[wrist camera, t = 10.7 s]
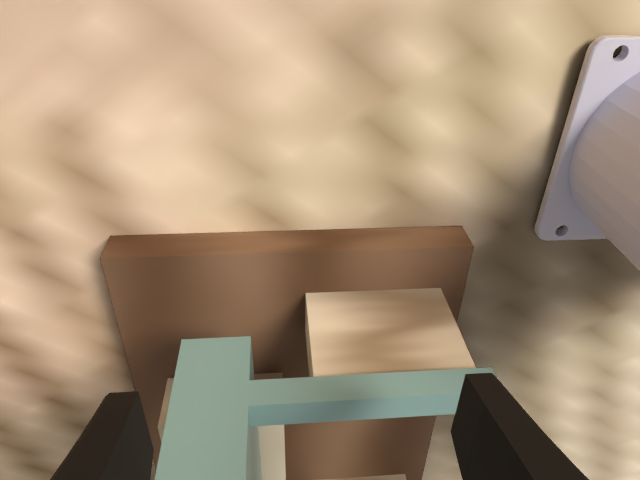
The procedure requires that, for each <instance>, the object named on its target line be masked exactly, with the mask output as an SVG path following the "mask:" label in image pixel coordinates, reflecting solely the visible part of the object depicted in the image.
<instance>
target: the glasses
mask: <svg viewBox="0 0 640 480" xmlns="http://www.w3.org/2000/svg"><path fill="white" fill-rule="evenodd" d="M476 373H493V374H494V375H495V373H494V371H493V369H492V367H484V368H465V369H447V370H429V371H411V372H392V373H374V374H356V375H337V376H319V377H301V378H283V379H264V380H254V368H253V356H252V343H251V336H243V337H222V338H201V339H182V340H181V345H180V350H179V355H178V361H177V366H176V371H175V376H174V381H173V387H172V392H171V397H170V402H169V407H168V412H167V418H166V423H165V428H164V433H163V438H162V444H161V449H160V454H159V459H158V464H157V470H156V475H155V480H262V468H261V456H260V443H259V431H258V426H270V425H286V424H302V423H318V422H335V421H351V420H367V419H383V418H399V417H415V416H432V415H448V414H455V413H456V409H457V405H458V401H459V397H460V393H461V390H462V386H463V382H464V378H465V374H476ZM495 376H496V375H495ZM496 378H497V377H496Z"/></svg>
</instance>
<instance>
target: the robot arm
mask: <svg viewBox="0 0 640 480" xmlns="http://www.w3.org/2000/svg"><path fill="white" fill-rule="evenodd" d="M619 46H622V51H621V52H620V54H619V55H618V56H617V57H616V58H613V53H614V51H615V49H616V48H618V47H619ZM563 225H564V226H563ZM560 226H563V227H562V229H560V230H558V231H556V230H557V228H558V227H560ZM534 231H535V233H536V235H537V236H538V237H539V238H540V239H541V240H544V241H557V240H589V239H608V240H609V241H610V242H611V243H612V244H613V245H614V246H615V247H616V248H617V249H618V250H619V251H620V252H621V253H622V254H623V255H624V256H625V257H626V258H627V259H628V260H629V261H630V262H631V263H632V264H633V265H634V266H635V267H636V268H637V269H638V270H639V271H640V35H604V36H600V37H598V38H596V39H595V40H594V41H593V42H592V43H591V44H590V45H589V47H588V49H587V51H586V55H585V58H584V62H583V65H582V68H581V72H580V75H579V78H578V82H577V85H576V89H575V92H574V95H573V99H572V102H571V106H570V109H569V112H568V116H567V119H566V122H565V126H564V129H563V133H562V136H561V139H560V143H559V146H558V150H557V153H556V156H555V160H554V163H553V166H552V170H551V173H550V177H549V180H548V183H547V187H546V190H545V194H544V197H543V200H542V204H541V207H540V210H539V214H538V217H537V221H536V224H535V229H534ZM451 434H452V438H453V443H454V447H455V451H456V455H457V459H458V463H459V467H460V471H461V475H462V478H463V480H589V479H588V478H587V477H586V476H585V475H584V474H583V473H582V472H581V471H580V470H579V469H578V468H577V467H576V466H575V465H574V464H573V463H572V462H571V461H570V460H569V459H568V458H567V456H566V455H565V454H564V453H563V452H562V451H561V450H560V449H559V448H558V447H557V446H556V445H555V444H554V443H553V442H552V440H551V439H550V438H549V437H548V436H547V435H546V434H545V433H544V432H543V431H542V429H541V428H540V427H539V426H538V425H537V424H536V423H535V422H534V420H533V419H532V418H531V417H530V416H529V415H528V414H527V412H526V411H525V410H524V409H523V408H522V407H521V406H520V404H519V403H518V402H517V401H516V400H515V399H514V397H513V396H512V395H511V394H510V393H509V392H508V390H507V389H506V388H505V387H504V386H503V385H502V383H501V382H500V381H499V380H498V379H497V378H496V376H495V375H494V374H493V373H476V374H465V378H464V382H463V386H462V390H461V393H460V397H459V401H458V405H457V409H456V413H455V417H454V421H453V425H452V429H451ZM153 452H154V449H153V445H152V441H151V437H150V434H149V430H148V426H147V422H146V418H145V414H144V410H143V407H142V403H141V399H140V395H139V391H137V392H119V393H109V394H108V395H107V396H106V397H105V398H104V399H103V401H102V403H101V404H100V406H99V408H98V409H97V411H96V412H95V414H94V416H93V417H92V419H91V420H90V422H89V423H88V425H87V426H86V428H85V430H84V431H83V433H82V434H81V436H80V437H79V439H78V440H77V442H76V443H75V445H74V446H73V448H72V449H71V451H70V452H69V454H68V455H67V457H66V458H65V459H64V461H63V462H62V464H61V465H60V466H59V468H58V469H57V471H56V472H55V473H54V475H53V476H52V478H51V479H50V480H150V476H151V468H152V460H153Z"/></svg>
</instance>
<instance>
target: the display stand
mask: <svg viewBox="0 0 640 480" xmlns="http://www.w3.org/2000/svg"><path fill="white" fill-rule="evenodd" d="M473 247H474V246H473V244H472V243H471V241H470V239H469V238H468V236H467V234H466V232H465V231H464V229H463V227H462V226H438V227H403V228H369V229H334V230H299V231H264V232H229V233H194V234H159V235H124V236H110V238H109V240H108V243H107V245H106V247H105V249H104V251H103V253H102V256H101V258H100V259H101V263H102V267H103V271H104V274H105V278H106V282H107V286H108V290H109V293H110V297H111V301H112V305H113V308H114V312H115V316H116V320H117V324H118V327H119V331H120V335H121V339H122V342H123V346H124V350H125V354H126V357H127V361H128V365H129V369H130V373H131V376H132V380H133V384H134V388H135V391H136V392H137V391H139V395H140V399H141V403H142V407H143V410H144V414H145V418H146V422H147V426H148V430H149V434H150V437H151V441H152V445H153V449H154V452H153V459H154V463H155V467H156V470H157V464H158V459H159V454H160V449H161V444H162V438H163V433H164V428H165V423H166V418H167V412H168V407H169V402H170V397H171V392H172V387H173V381H174V376H175V371H176V366H177V361H178V355H179V350H180V345H181V340H182V339H201V338H222V337H243V336H251V343H252V356H253V368H254V380H264V379H283V378H301V377H319V376H337V375H356V374H374V373H392V372H411V371H429V370H447V369H465V368H476V367H475V365H474V362H473V360H472V358H471V356H470V353H469V351H468V349H467V347H466V344H465V342H464V340H463V337H462V335H461V333H460V331H459V328H458V326H457V324H456V323H457V319H458V314H459V310H460V305H461V301H462V297H463V292H464V288H465V283H466V279H467V274H468V270H469V265H470V261H471V256H472V252H473ZM435 417H436V415H432V416H415V417H399V418H383V419H367V420H351V421H335V422H318V423H302V424H286V425H270V426H258V431H259V443H260V456H261V468H262V480H422V475H423V471H424V466H425V462H426V457H427V453H428V449H429V444H430V440H431V435H432V431H433V426H434V422H435Z"/></svg>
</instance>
